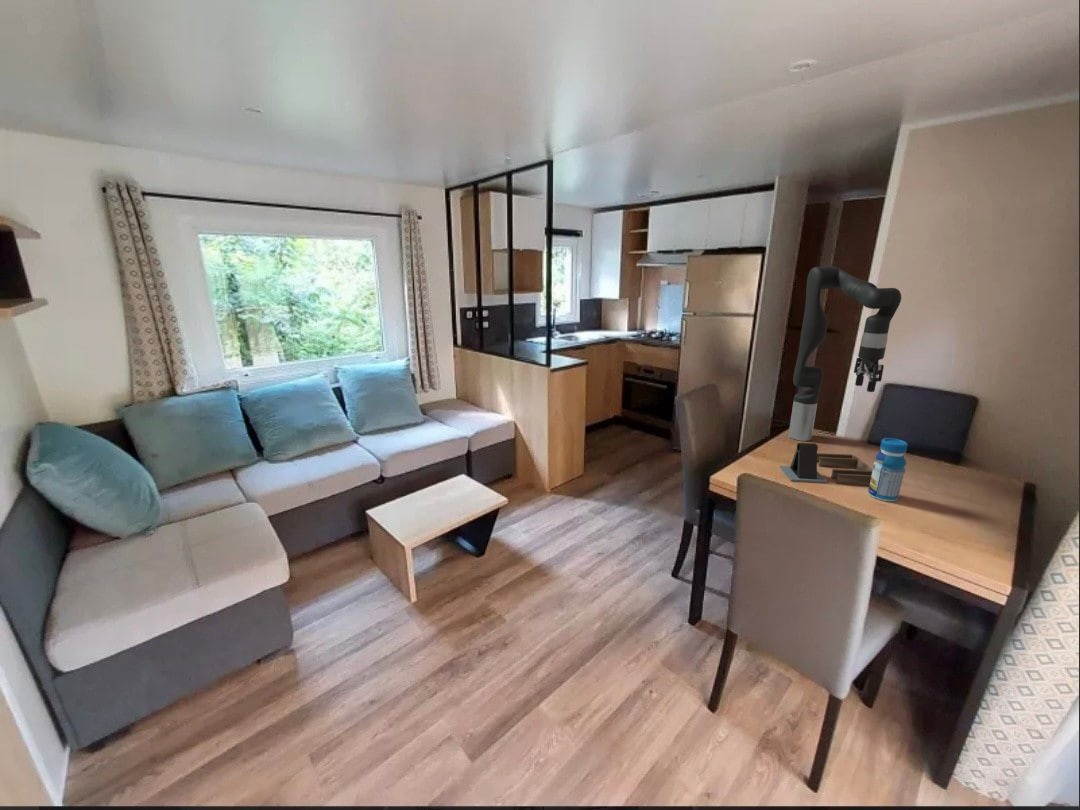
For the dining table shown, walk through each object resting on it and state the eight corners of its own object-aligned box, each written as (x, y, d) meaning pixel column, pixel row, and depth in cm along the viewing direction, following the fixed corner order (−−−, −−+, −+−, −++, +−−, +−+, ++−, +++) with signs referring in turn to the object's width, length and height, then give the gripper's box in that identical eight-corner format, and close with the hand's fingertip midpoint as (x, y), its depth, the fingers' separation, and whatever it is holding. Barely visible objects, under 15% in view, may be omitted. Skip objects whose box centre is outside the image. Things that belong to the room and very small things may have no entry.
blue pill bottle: (887, 504, 144) (900, 447, 138) (861, 493, 151) (872, 439, 145) (904, 499, 147) (917, 443, 141) (877, 488, 154) (889, 435, 148)
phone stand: (789, 467, 170) (794, 439, 166) (806, 468, 168) (811, 439, 165) (798, 478, 161) (803, 448, 158) (816, 479, 160) (822, 448, 157)
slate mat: (779, 467, 172) (779, 465, 172) (812, 469, 170) (813, 467, 170) (791, 481, 161) (791, 479, 160) (826, 483, 159) (827, 481, 158)
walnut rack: (813, 461, 177) (815, 453, 176) (852, 462, 175) (853, 454, 174) (837, 483, 158) (839, 474, 157) (880, 485, 156) (882, 476, 155)
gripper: (851, 342, 165) (844, 383, 170) (871, 348, 152) (862, 393, 157) (874, 342, 164) (865, 384, 169) (896, 348, 150) (886, 394, 155)
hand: (864, 388), depth 163 cm, fingers open, 8 cm apart
